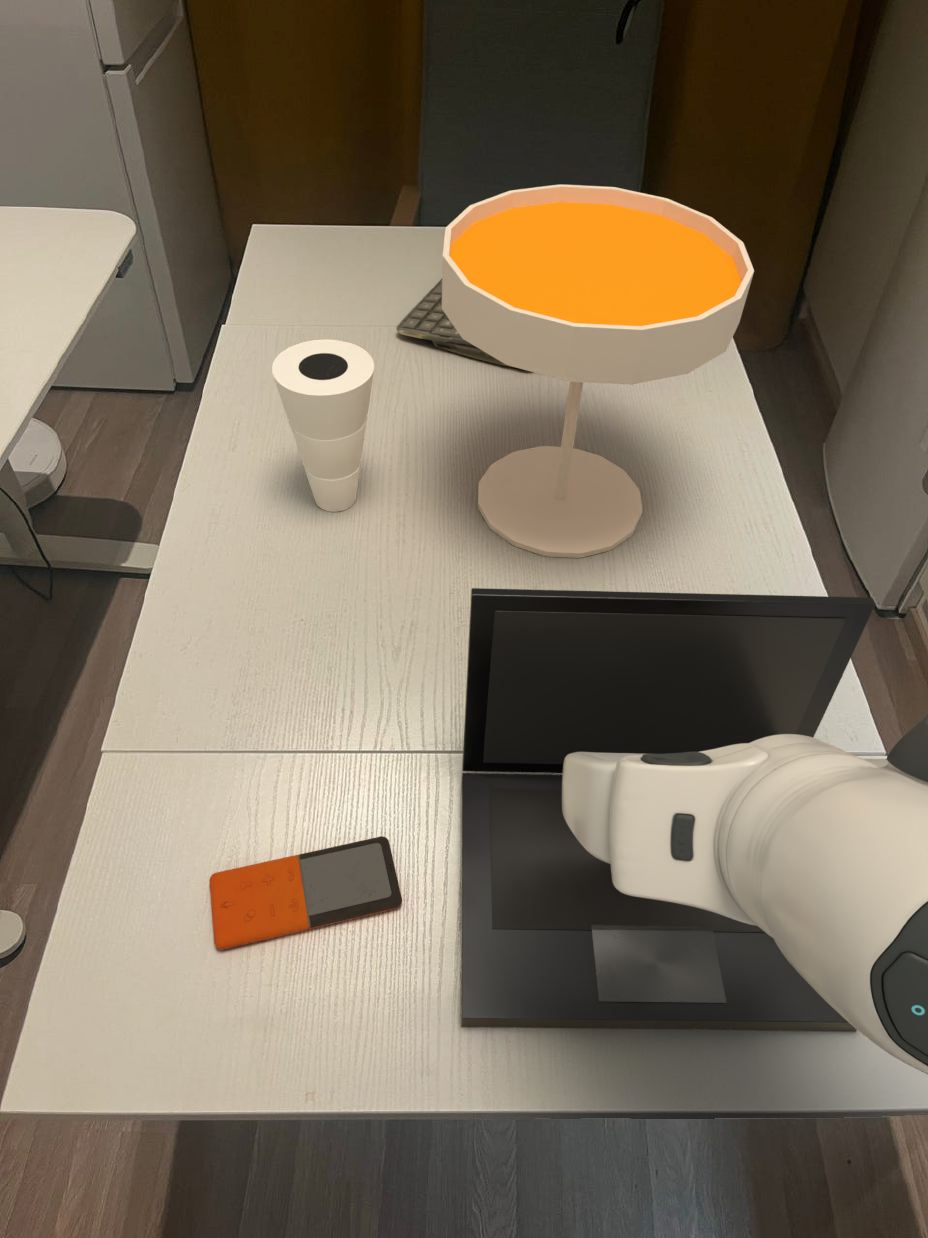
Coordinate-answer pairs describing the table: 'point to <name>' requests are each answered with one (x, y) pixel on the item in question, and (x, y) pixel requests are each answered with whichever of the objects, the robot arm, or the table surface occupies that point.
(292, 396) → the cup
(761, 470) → the table surface
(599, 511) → the cream stemmed bowl
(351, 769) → the table surface
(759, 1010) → the notebook
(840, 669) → the notebook screen
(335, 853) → the phone
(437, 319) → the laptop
